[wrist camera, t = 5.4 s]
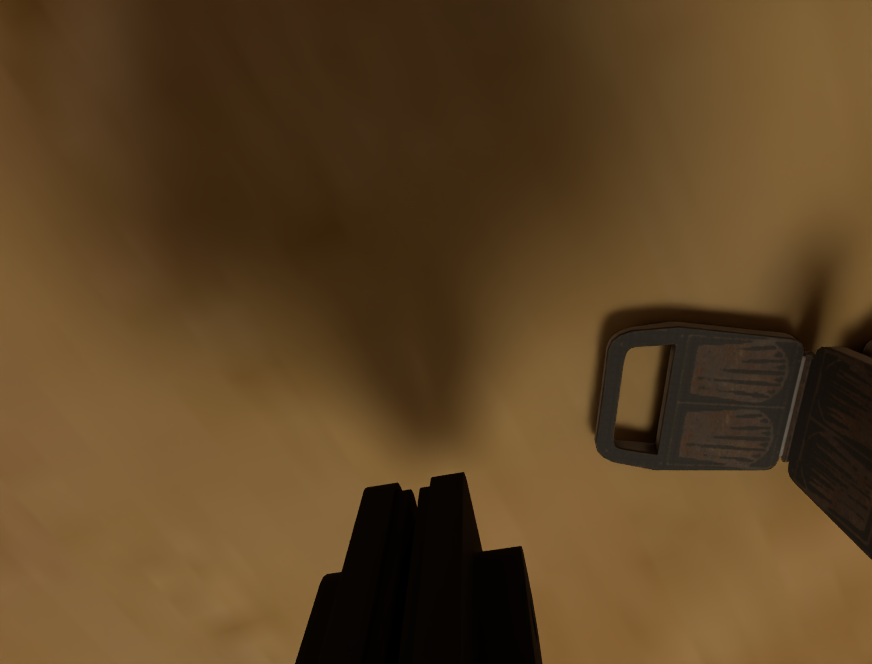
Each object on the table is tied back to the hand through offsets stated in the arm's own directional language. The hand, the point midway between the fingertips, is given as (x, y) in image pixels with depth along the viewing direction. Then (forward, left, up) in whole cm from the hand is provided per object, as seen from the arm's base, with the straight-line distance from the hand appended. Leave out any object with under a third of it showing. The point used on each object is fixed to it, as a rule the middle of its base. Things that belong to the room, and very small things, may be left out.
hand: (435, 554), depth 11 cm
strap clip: (-8, 0, -3) cm, 8 cm away
